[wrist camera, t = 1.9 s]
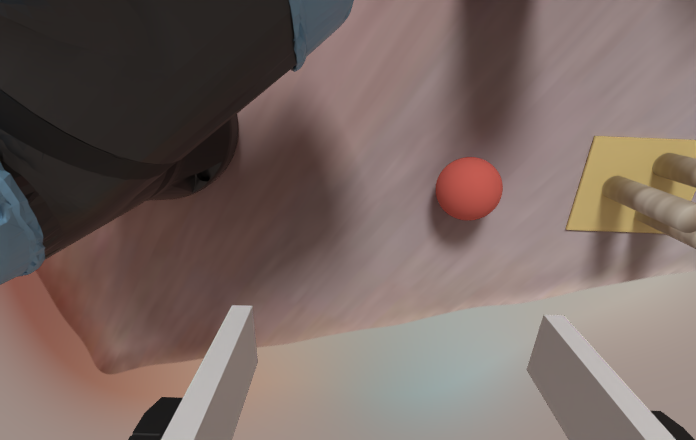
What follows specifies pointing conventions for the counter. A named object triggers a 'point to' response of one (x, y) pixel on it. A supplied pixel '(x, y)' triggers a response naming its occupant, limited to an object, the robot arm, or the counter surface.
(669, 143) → the plate
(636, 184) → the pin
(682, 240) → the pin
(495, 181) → the ball
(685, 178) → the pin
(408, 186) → the counter surface
